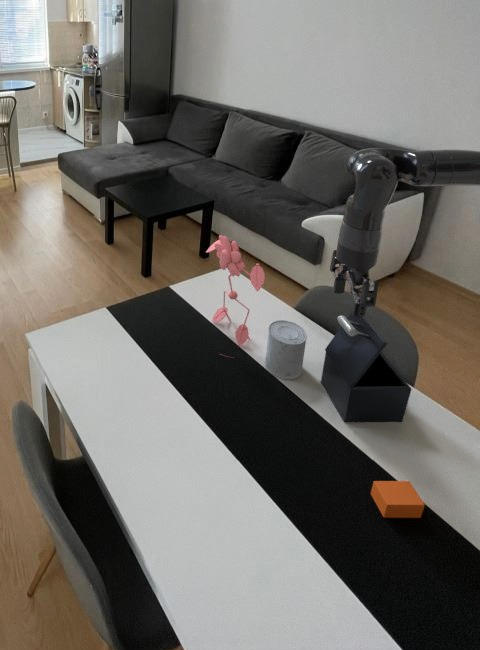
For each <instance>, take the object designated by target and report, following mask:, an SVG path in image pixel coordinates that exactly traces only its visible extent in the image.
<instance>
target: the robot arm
mask: <svg viewBox="0 0 480 650" xmlns="http://www.w3.org/2000/svg"><path fill="white" fill-rule="evenodd" d="M346 169H347V172H348V174H349V176H350V177H351V178H352V179H353V180H354V181H355V189H354V192H353V194H350V195H349V196H348V198H347V199H346V201H345V206H344V209H343V210H344V211H343V218H342V222H341V225H340V228H339V234H338V239H337V245H336V249H333V251H332V255H331V261H330V264H329V265H330V266H329V271H330V272H331V273H333V275H332V277H333V278H334V282H333V288H332V291H333V293H334V294H344V293H345V289H346V283H348V285H349V290H350V292H351V293H352V294H353V298H354V301H353V307H352V311H353V312H352V311H351V312H352V315H353V316H354V317H365V316H366V310H367V307H375V306H376V303H377V296H378V295H377V294H378V289H379V282H378V280H372V279H371V278H370V270H371V269H373V268H374V267H375V266H376V265H377V262H378V257H379V253H380V247H381V242H382V238H383V225H384V219H385V214H386V209H387V206H388V205H389V204H390V202H391V200H392V197H393V196H394V193H395V191H396V189H397V187H398V182H403V183H405V184H408V185H410V186H415V187H452V186H453V187H456V186H457V187H463V186H464V187H473V186H474V187H480V151H479V150H470V149H469V150H468V149H426V150H406V149H397V148H387V147H385V148H384V147H369V148H363V149H360V150H357V151H355V152H354V153H353V154H351V155H350V156H349V158H348V159H347V161H346ZM336 265H338V266H336ZM357 287H361V288H357Z"/></svg>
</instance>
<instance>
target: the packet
mask: <svg viewBox="0 0 480 650" xmlns="http://www.w3.org/2000/svg"><path fill="white" fill-rule="evenodd" d="M370 496H371V498H372V499H373V501H374V503H375V506H377V508H378V510H379V513H381V515H382V517H383V518H384V519H385V518H386V519H421V518H422V515H423V512H424V509H425V505H426V504H425V503H424V501H423V499H422V498H421V497H420V494H419V493H418V492H417V491H416V489H415V488H414V486H413V484H412V483H411V481H410V480H374V481H373V482H372V487H371V489H370Z"/></svg>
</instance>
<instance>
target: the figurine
mask: <svg viewBox="0 0 480 650" xmlns="http://www.w3.org/2000/svg"><path fill="white" fill-rule="evenodd" d="M214 251H216V256H217V258H218V259H219V266H220V269H221V270H223V271H226V269H227V271H228V273H229V274H228V282H229V286H230V290H229V291H227V290H223V306H221V307H219V308H218V309H216V311H215V312H214V314H213V316H212V320H211V322H212V321H213V322H212V323H219V322H221V321H222V320H223V319H224V318H225V317H226V318H227V320H228V321H229V322H230V321H231V322H232V319H231V317H230V315H229V314H228V308H227V307H226V304H225V303H226V294H227V296H228V298H229V299H230V300H234V301H236V302H237V303H238V304H239V305H241V306H242V307H244V309H246V310H247V312H246V317H245V320H244V322H243V324H239V325H238V327H237V328H236V330H235V340H236V343H237V344H238V347H241V346H243V345H244V344H245V343H246V342H247V340H251V338H250V336H249V328H248V326H247V325H246V323H247V320H248V318H249V315H250V308H249V307H247V306H245V304H243V303H242V302H241V301H240V300H238V296H239V295H238V292H237V291H235V290H234V289H233V285H232V280H231V277H235V276H236V277H240V276H241V271H242V272H244V273H245V274H247V276H249V278H250V283H251V286H252V287H253V288H254V290H255V291H256V292H259V291H260V290H261V289H262V287H263V285H264V283H265V280H266V276H265V271H264V268H263V267H262V266H260V265H261V264H260V263H256V264H255V265H254V266H253V267H252V269H251V271H250V273H249V272H248V271H247V270H245V269H246V264H245V262H244V261H243V260H242V253H241V252H240V246H239V244H238V241H237V240H233V241H230V239H229V238H228V237H227V236H226V235H222V234H220V235H219V236H218V240H216V241H215V242H213V243H212V244H211V245H210V246H208V249H207V250H206V251H205V253H207V254H208V253H212V252H214ZM220 356H223V357H226V358H229V356H228V355H224V354H221V353H220ZM230 358H231V359H234V357H232V356H230Z"/></svg>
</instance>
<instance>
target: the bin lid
mask: <svg viewBox="0 0 480 650" xmlns="http://www.w3.org/2000/svg"><path fill="white" fill-rule="evenodd" d="M352 312H353V310H352V311H351V312H350V314H349V315H348V316H345V315H339V316H338V317H337V318H336V319H337V321H338V323H339V325H340V328H339V329H338V330H337V332H336V333H335V335H334V336H333V338H332V339H331V340H330V342H329V343H328V344H327V345H326V348H325V349H324V351H325V353H326V352H327V354H328V355H329V357H330V358H331V360H332V361H333V363H334V364H335V366H336V367H337V369H338V371H339V372H340V374H341V375H342V377H343V378H344V380H345V381H346V383H347V384H348V386H349V387H350V388H353V387H354V386H355V385H356V383H357V382H358V381H359V380H360V378H361V377H362V376H363V375H364V373H365V372H366V371H367V369H368V368H369V367H370V366H371V364H372V363H373V362H374V360H375V359H376V358H377V357H378V355H379V354H380V353H381V352H383V350H384V349H385V348H386V346H387V345H388V342H387V341H386V340H385V339H384V337H383V336H382V335H381V334H380V333H379V332H378V330H377V329H376V328H375V327H374V326H373V325H372V324H371V322H370V321H369V320H368V319H367V317H366V316H364V317H354V316H353V315H352Z"/></svg>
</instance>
